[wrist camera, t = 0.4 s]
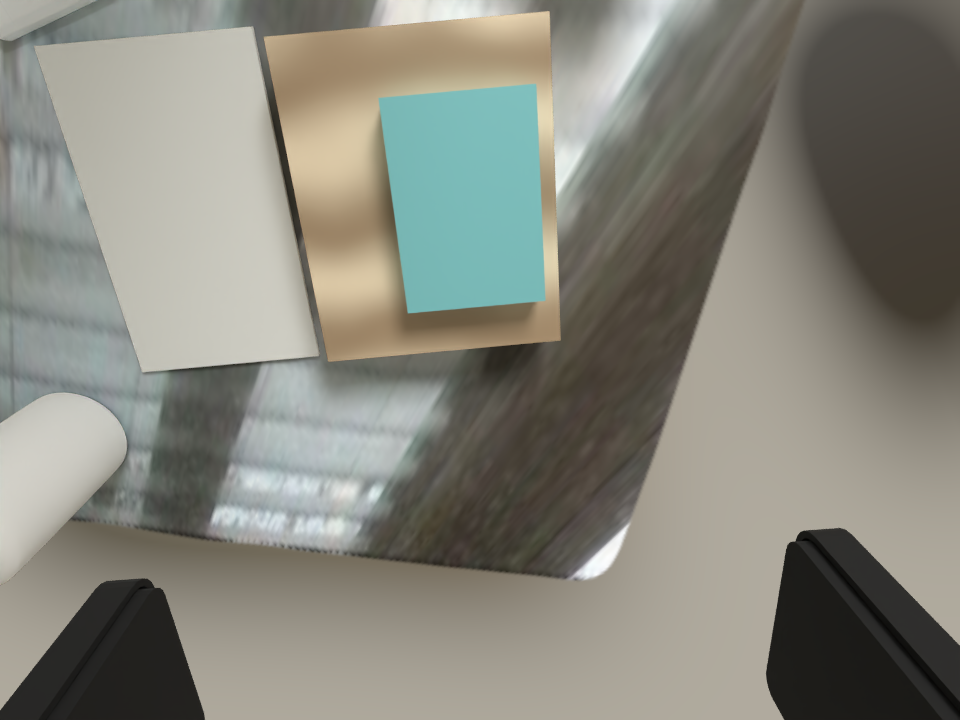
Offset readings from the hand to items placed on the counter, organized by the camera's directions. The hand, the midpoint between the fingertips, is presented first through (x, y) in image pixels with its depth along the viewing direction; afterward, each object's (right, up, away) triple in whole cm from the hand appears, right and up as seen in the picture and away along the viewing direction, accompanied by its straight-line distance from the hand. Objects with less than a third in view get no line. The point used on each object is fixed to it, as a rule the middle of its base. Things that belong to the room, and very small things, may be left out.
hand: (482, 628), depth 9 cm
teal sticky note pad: (-1, +12, +21) cm, 24 cm away
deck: (-3, +13, +24) cm, 28 cm away
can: (-26, -1, +30) cm, 39 cm away
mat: (-16, +12, +24) cm, 32 cm away
